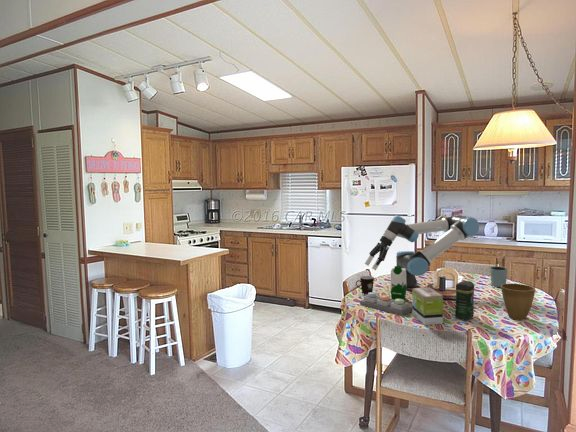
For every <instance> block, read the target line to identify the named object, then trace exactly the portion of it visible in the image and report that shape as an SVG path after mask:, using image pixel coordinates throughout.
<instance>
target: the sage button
mask: <svg viewBox="0 0 576 432" xmlns="http://www.w3.org/2000/svg"><path fill="white" fill-rule="evenodd" d="M394 302H395V304H398V305H403V304H404V302H405V299H404V300H403V299H395V300H394Z"/></svg>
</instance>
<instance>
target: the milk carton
mask: <svg viewBox="0 0 576 432" xmlns="http://www.w3.org/2000/svg"><path fill="white" fill-rule="evenodd" d="M406 294H407V288H406V269H404V268H402V267H401V266H397V265H395V266H394V267H393V268H392V269H391V270H390V299H394V301H395V299H403V300H404V301H405V300H406V297H407V295H406Z"/></svg>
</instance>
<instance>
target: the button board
mask: <svg viewBox="0 0 576 432" xmlns="http://www.w3.org/2000/svg"><path fill="white" fill-rule="evenodd" d="M381 296H382V295H377V294H376V298H370V297H368V294H366V295H364V296H363V299H361V300H359V305H361V306H365V307H369V308H373V309H377V310H380V311H383V312H388V313H392V314H396V315H400V316H402V317H403V316H405V315H407V314H409V313H411V312H412V306H409V302H406V301H404V304H403V305H398V304H395V300H394V299H391V298H390V301H387V302H386V301H382V300H381Z"/></svg>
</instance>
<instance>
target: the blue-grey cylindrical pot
mask: <svg viewBox="0 0 576 432" xmlns="http://www.w3.org/2000/svg"><path fill="white" fill-rule="evenodd" d="M489 272H490V286H491V287H493V286H494V287H493V288H497V287H501V285H503V284H507V278H508V268H507V267H503V266H490V267H489Z"/></svg>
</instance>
